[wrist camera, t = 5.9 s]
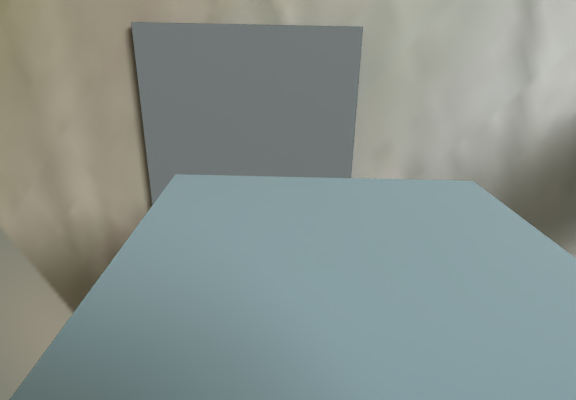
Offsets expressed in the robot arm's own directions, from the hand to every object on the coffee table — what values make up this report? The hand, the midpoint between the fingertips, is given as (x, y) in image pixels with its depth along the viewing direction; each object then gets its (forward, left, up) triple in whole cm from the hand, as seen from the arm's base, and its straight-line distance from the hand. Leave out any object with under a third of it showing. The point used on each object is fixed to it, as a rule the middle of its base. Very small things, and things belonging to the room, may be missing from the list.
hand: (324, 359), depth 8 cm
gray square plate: (+2, +2, -13) cm, 13 cm away
